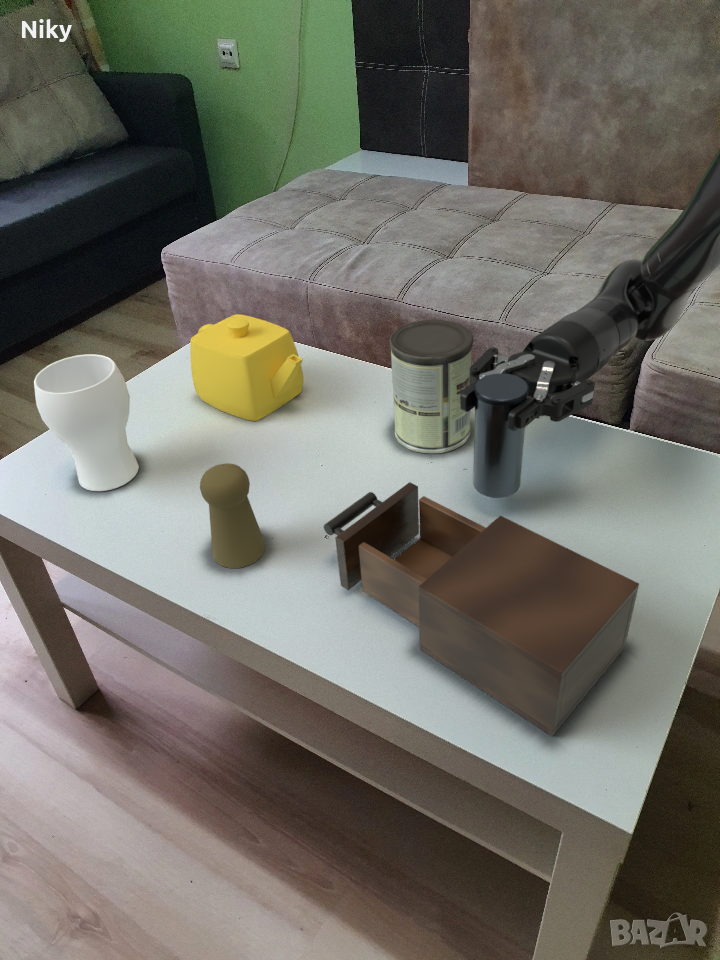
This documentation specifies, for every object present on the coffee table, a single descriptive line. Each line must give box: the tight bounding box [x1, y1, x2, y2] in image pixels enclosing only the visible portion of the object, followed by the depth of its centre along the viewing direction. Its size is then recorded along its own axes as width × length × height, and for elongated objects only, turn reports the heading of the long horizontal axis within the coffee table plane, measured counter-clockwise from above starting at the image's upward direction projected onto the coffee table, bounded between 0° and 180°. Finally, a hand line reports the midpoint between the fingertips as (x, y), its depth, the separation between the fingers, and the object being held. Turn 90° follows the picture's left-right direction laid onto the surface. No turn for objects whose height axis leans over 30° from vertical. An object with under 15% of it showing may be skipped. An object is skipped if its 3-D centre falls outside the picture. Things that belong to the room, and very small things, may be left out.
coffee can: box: [388, 319, 474, 454], centre depth 97 cm, size 10×10×14 cm
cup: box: [33, 353, 139, 492], centre depth 94 cm, size 11×11×15 cm
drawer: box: [323, 482, 487, 628], centre depth 77 cm, size 18×11×7 cm, turn 47°
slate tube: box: [472, 373, 529, 499], centre depth 83 cm, size 6×6×13 cm
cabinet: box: [418, 515, 640, 737], centre depth 69 cm, size 15×13×9 cm
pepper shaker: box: [199, 463, 267, 569], centre depth 82 cm, size 6×6×11 cm
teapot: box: [190, 313, 304, 422], centre depth 108 cm, size 20×12×12 cm, turn 51°
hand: (487, 412), depth 79 cm, fingers closed on slate tube, 5 cm apart
